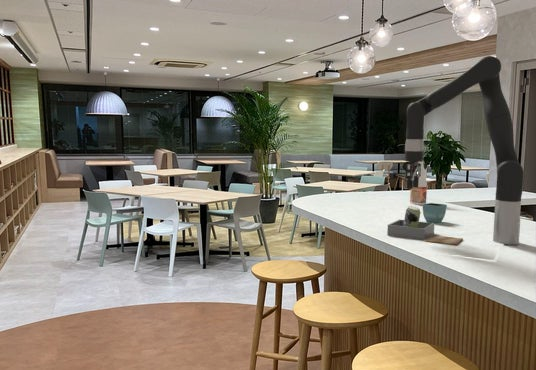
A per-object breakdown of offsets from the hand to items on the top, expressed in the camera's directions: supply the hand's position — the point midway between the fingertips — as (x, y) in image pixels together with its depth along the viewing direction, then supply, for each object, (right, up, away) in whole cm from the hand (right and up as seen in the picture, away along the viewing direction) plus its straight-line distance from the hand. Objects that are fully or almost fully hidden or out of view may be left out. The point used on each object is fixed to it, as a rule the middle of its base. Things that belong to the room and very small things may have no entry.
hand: (412, 188), depth 204 cm
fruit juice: (+29, -12, +85) cm, 91 cm away
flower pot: (+20, -17, +31) cm, 41 cm away
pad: (+10, -21, -10) cm, 26 cm away
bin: (0, -20, +2) cm, 20 cm away
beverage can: (0, -20, +2) cm, 20 cm away
